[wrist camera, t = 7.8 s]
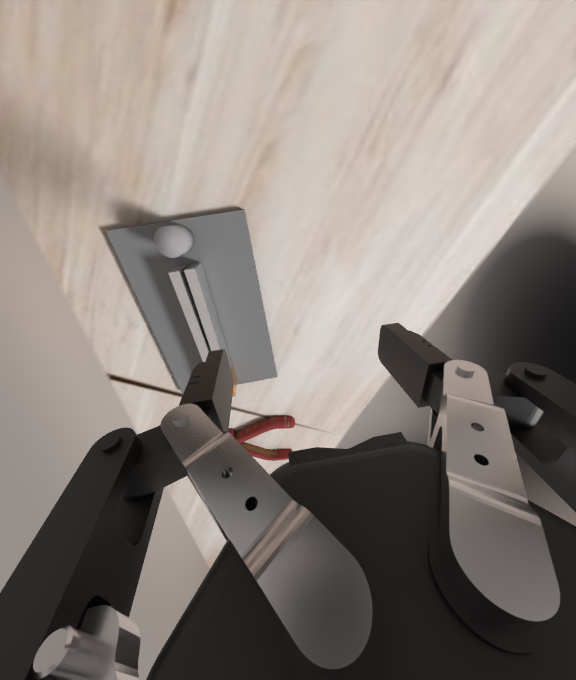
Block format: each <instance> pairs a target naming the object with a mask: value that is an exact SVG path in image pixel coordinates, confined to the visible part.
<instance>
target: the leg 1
mask: <svg viewBox="0 0 576 680" xmlns="http://www.w3.org/2000/svg"><path fill="white" fill-rule="evenodd" d="M187 267H188V266H187V265H184V266H178V267H176V268H175V269H173V270H172V271H170V272H169V273H168V274H169V276H170V279H171V281H172V284H173V286H174V289H175V292H176V294H177V297H178V299H179V302H180V304H181V307H182V309H183V312H184V315H185V317H186V320H187V322H188V325H189V327H190V330H191V332H192V335H193V338H194V340H195V343H196V345H197V348H198V350H199V353H200V356H201V358H202V361H203V362H205V361H206V358H207V355H208V352H209V351H211V349H210V346H209V343H208V340H207V337H206V334H205V331H204V328H203V325H202V322H201V319H200V316H199V313H198V310H197V307H196V304H195V301H194V298H193V295H192V293H191V290H190V287H189V284H188V281H187V278H186V275H185V272H184V270H185V269H186V268H187Z"/></svg>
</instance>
